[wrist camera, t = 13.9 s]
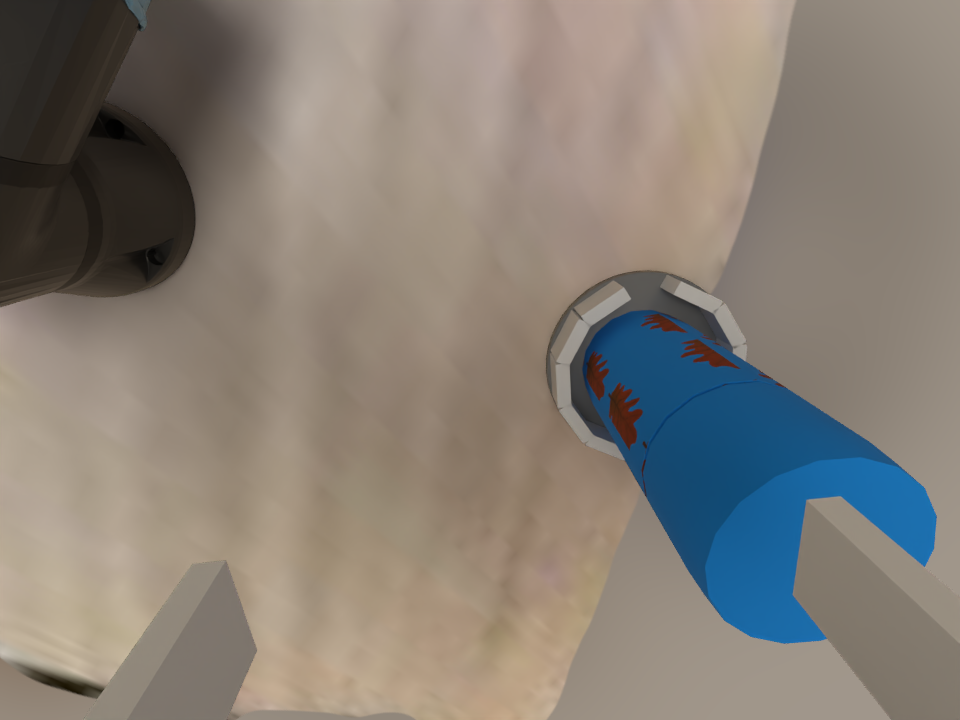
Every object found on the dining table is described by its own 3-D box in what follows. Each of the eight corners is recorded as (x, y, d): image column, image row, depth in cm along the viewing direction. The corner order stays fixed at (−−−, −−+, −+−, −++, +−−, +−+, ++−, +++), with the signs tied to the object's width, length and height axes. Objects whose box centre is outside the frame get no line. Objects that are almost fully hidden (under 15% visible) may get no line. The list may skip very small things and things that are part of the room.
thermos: (628, 438, 49) (781, 679, 25) (556, 364, 46) (653, 560, 22) (720, 364, 46) (982, 555, 23) (650, 282, 44) (868, 404, 20)
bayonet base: (550, 449, 50) (557, 471, 46) (540, 281, 44) (547, 291, 41) (720, 431, 50) (741, 452, 46) (732, 260, 44) (757, 268, 40)
